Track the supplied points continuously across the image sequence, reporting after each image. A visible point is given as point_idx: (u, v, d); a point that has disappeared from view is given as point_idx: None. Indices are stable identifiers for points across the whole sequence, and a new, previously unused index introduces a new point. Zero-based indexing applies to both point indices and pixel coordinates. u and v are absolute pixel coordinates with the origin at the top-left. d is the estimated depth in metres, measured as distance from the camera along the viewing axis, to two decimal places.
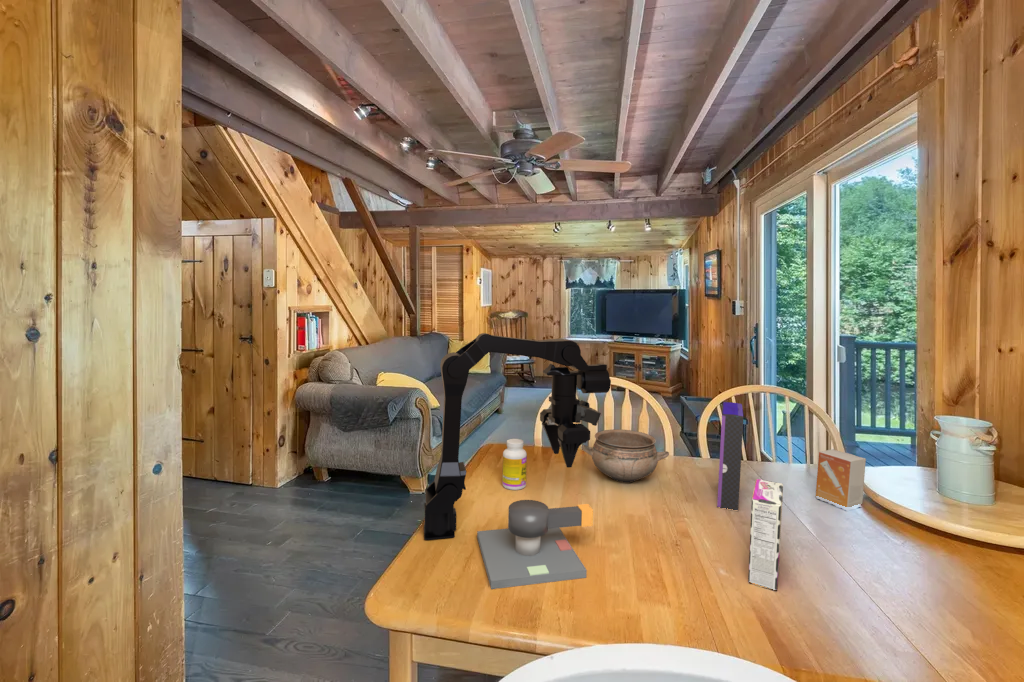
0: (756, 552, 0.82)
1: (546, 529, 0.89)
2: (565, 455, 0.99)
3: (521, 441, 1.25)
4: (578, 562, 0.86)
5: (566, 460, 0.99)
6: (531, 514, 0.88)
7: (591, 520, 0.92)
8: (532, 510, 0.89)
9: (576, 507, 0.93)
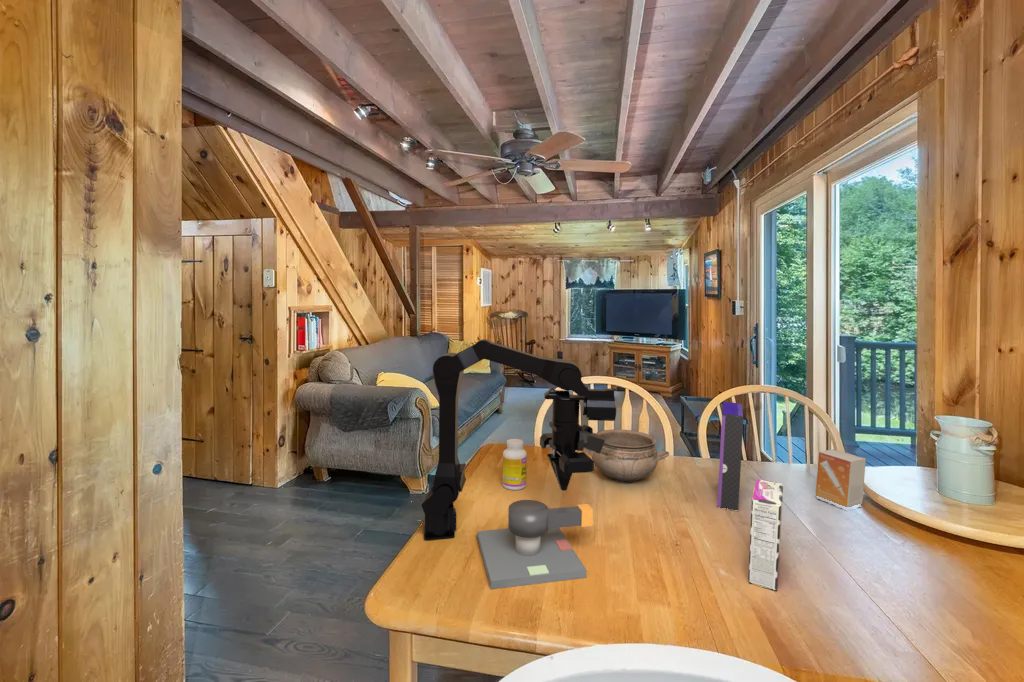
0: (756, 552, 0.82)
1: (546, 529, 0.89)
2: (560, 478, 0.96)
3: (521, 441, 1.25)
4: (578, 562, 0.86)
5: (561, 483, 0.97)
6: (531, 514, 0.88)
7: (591, 520, 0.92)
8: (532, 510, 0.89)
9: (576, 507, 0.93)
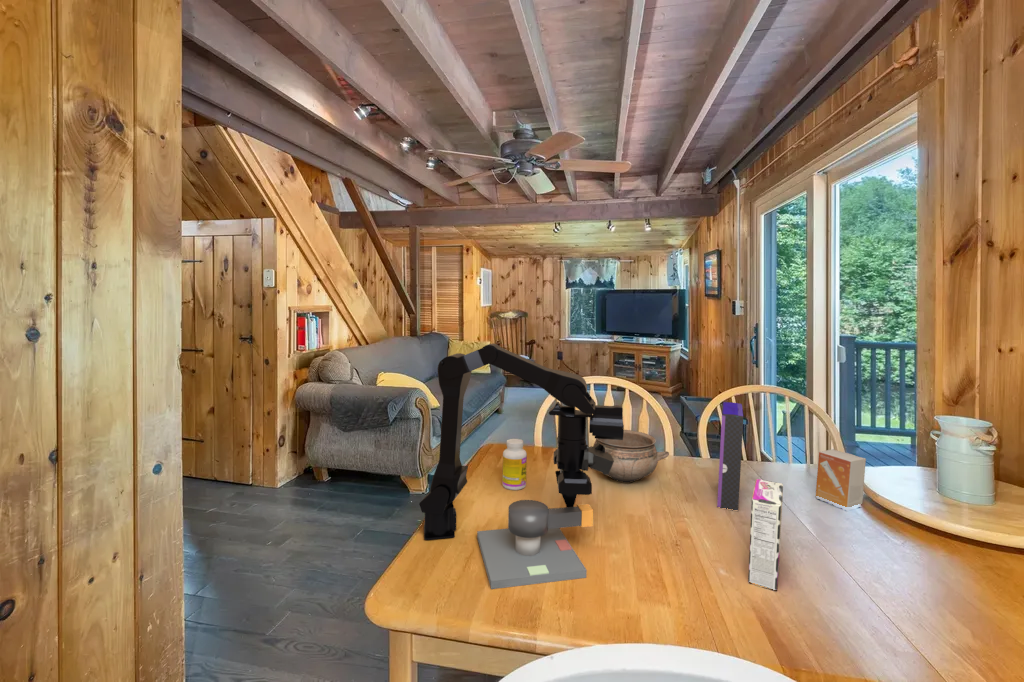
0: (756, 552, 0.82)
1: (546, 529, 0.89)
2: (564, 497, 0.93)
3: (521, 441, 1.25)
4: (578, 562, 0.86)
5: (566, 502, 0.93)
6: (531, 514, 0.88)
7: (591, 520, 0.92)
8: (532, 510, 0.89)
9: (576, 507, 0.93)
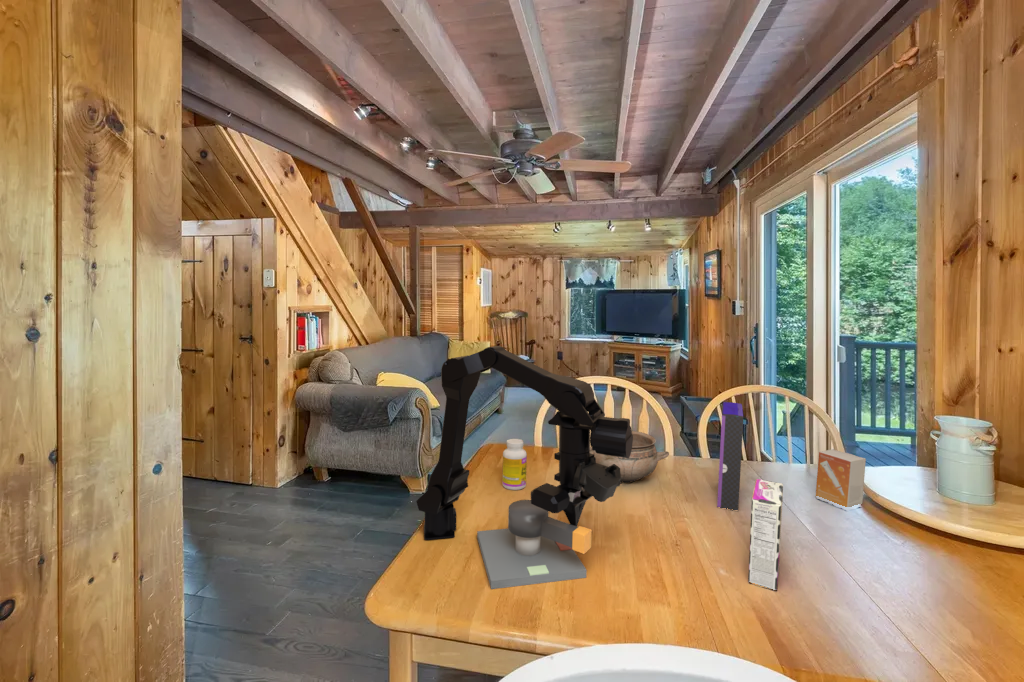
0: (756, 552, 0.82)
1: (533, 534, 0.87)
2: (565, 511, 0.86)
3: (521, 441, 1.25)
4: (578, 562, 0.86)
5: (568, 518, 0.86)
6: (520, 513, 0.88)
7: (582, 547, 0.82)
8: (527, 511, 0.89)
9: (576, 527, 0.85)
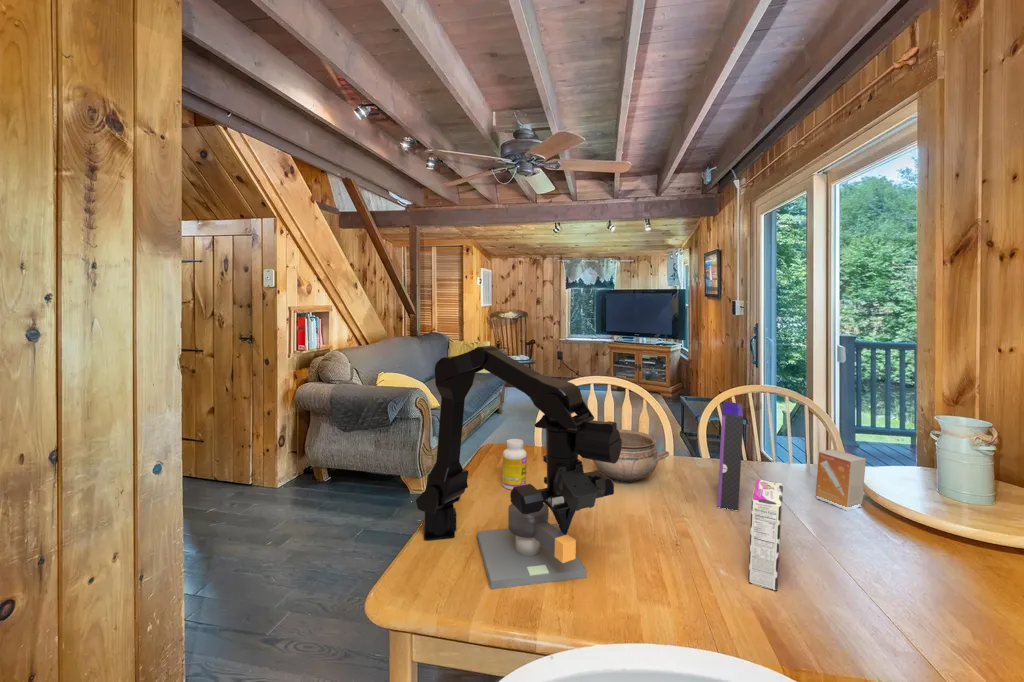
0: (756, 552, 0.82)
1: (525, 534, 0.87)
2: (555, 517, 0.84)
3: (521, 441, 1.25)
4: (578, 562, 0.86)
5: (558, 524, 0.84)
6: (516, 511, 0.89)
7: (561, 555, 0.79)
8: None
9: (562, 535, 0.82)
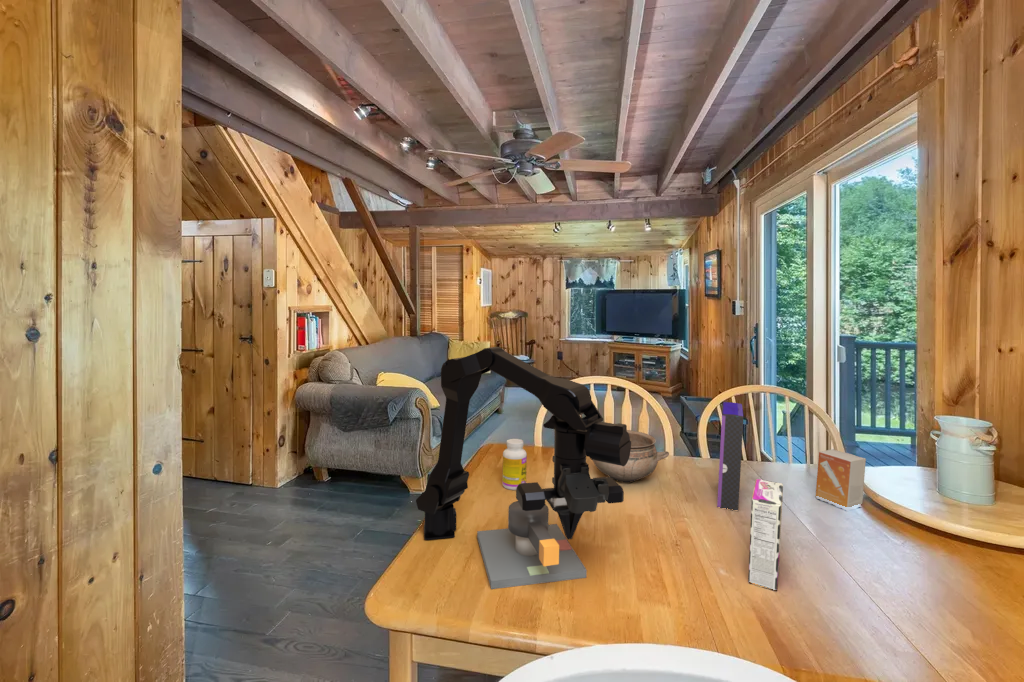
0: (756, 552, 0.82)
1: (520, 533, 0.87)
2: (560, 519, 0.83)
3: (521, 441, 1.25)
4: (578, 562, 0.86)
5: (562, 526, 0.83)
6: (515, 509, 0.90)
7: (543, 558, 0.78)
8: (524, 510, 0.89)
9: (549, 538, 0.80)
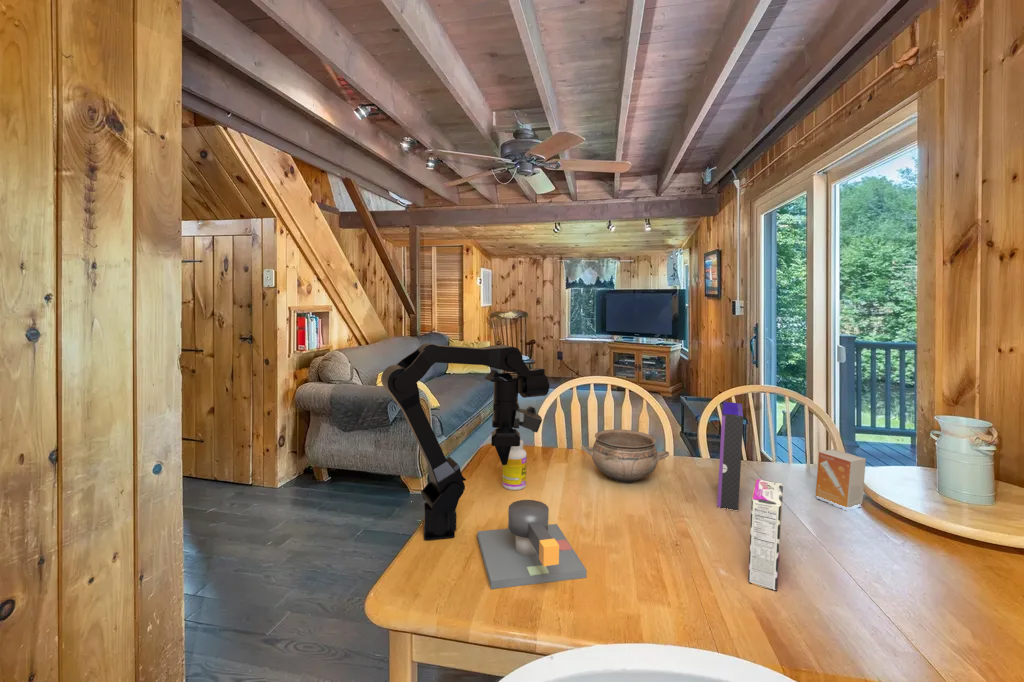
0: (756, 552, 0.82)
1: (520, 533, 0.87)
2: (499, 453, 1.05)
3: (521, 441, 1.25)
4: (578, 562, 0.86)
5: (500, 458, 1.05)
6: (515, 509, 0.90)
7: (543, 558, 0.78)
8: (524, 510, 0.89)
9: (549, 538, 0.80)
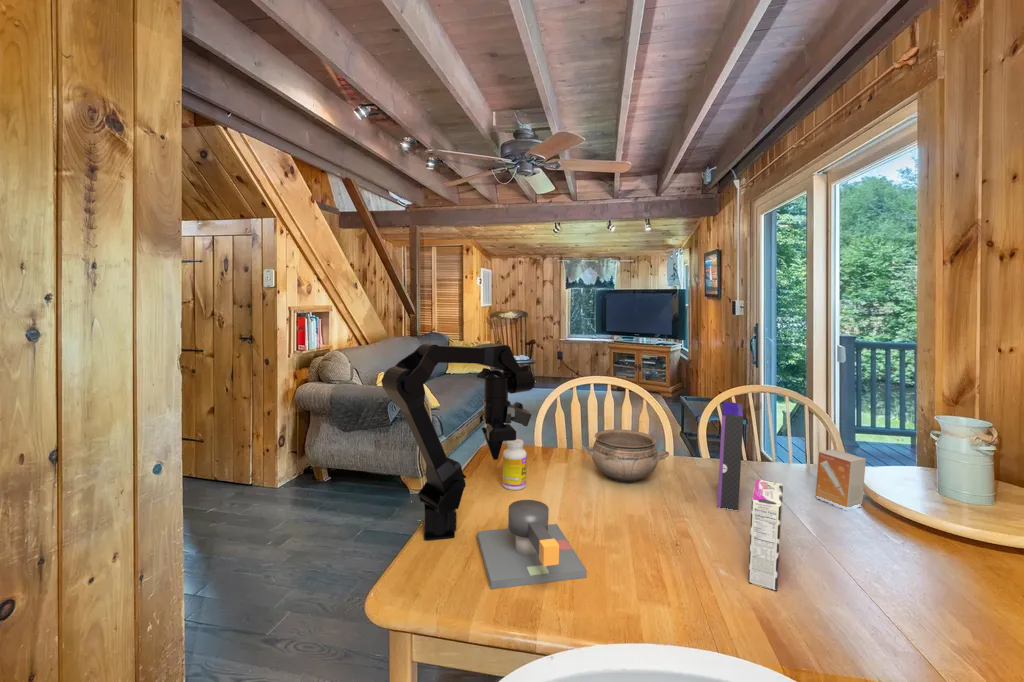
0: (756, 552, 0.82)
1: (520, 533, 0.87)
2: (491, 448, 1.08)
3: (521, 441, 1.25)
4: (578, 562, 0.86)
5: (492, 453, 1.09)
6: (515, 509, 0.90)
7: (543, 558, 0.78)
8: (524, 510, 0.89)
9: (549, 538, 0.80)
